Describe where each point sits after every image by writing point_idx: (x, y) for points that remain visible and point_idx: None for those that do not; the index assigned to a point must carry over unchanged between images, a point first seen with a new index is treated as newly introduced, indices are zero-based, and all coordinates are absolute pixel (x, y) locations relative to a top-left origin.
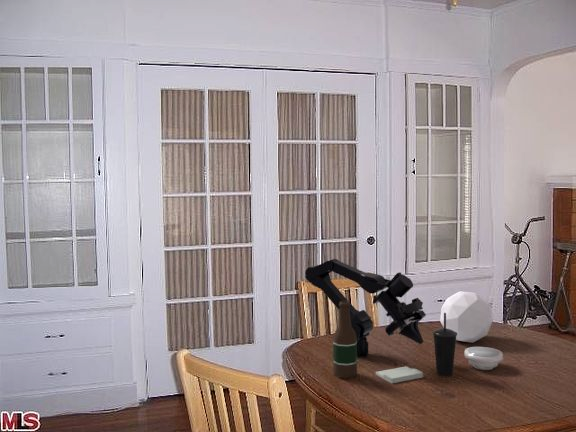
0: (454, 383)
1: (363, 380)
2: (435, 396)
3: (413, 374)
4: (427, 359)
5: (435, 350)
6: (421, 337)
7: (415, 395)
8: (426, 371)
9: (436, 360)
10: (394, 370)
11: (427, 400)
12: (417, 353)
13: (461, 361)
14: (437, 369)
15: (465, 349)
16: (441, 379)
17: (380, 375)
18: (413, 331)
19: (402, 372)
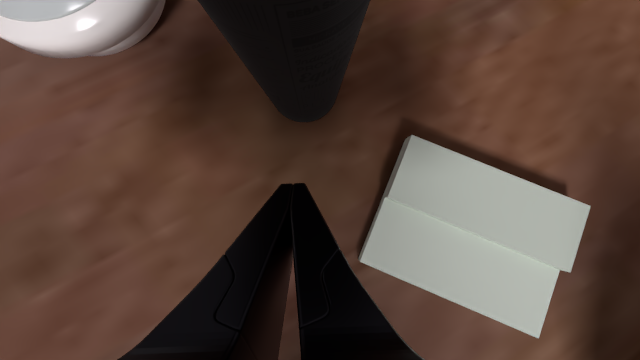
0: (379, 11)
1: (633, 330)
2: (551, 3)
3: (465, 156)
4: (166, 249)
5: (347, 48)
6: (268, 209)
7: (600, 63)
8: (326, 166)
9: (339, 81)
10: (452, 274)
11: (607, 7)
12: (105, 343)
13: (98, 110)
14: (334, 99)
15: (50, 36)
16: (373, 70)
17: (549, 293)
18: (365, 294)
19: (480, 211)
